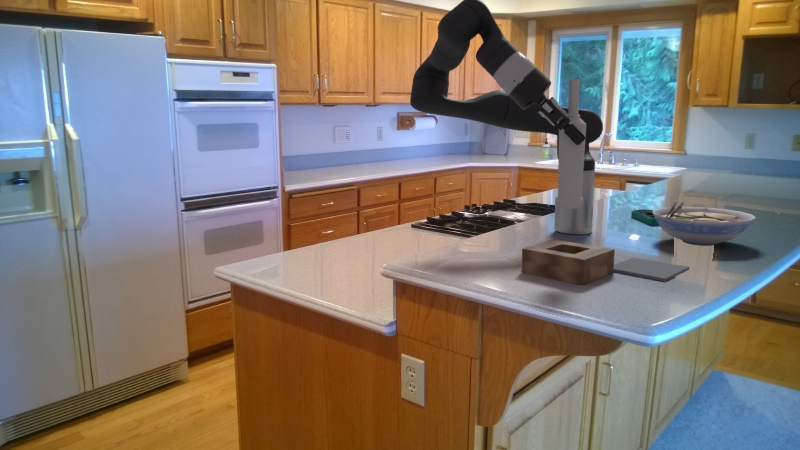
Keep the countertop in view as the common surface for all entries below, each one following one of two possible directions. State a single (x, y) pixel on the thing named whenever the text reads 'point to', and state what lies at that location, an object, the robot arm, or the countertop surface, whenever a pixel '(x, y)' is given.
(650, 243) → the countertop surface
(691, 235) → the ramen bowl
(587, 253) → the walnut holder
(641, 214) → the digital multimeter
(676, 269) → the slate mat
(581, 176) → the bottle
